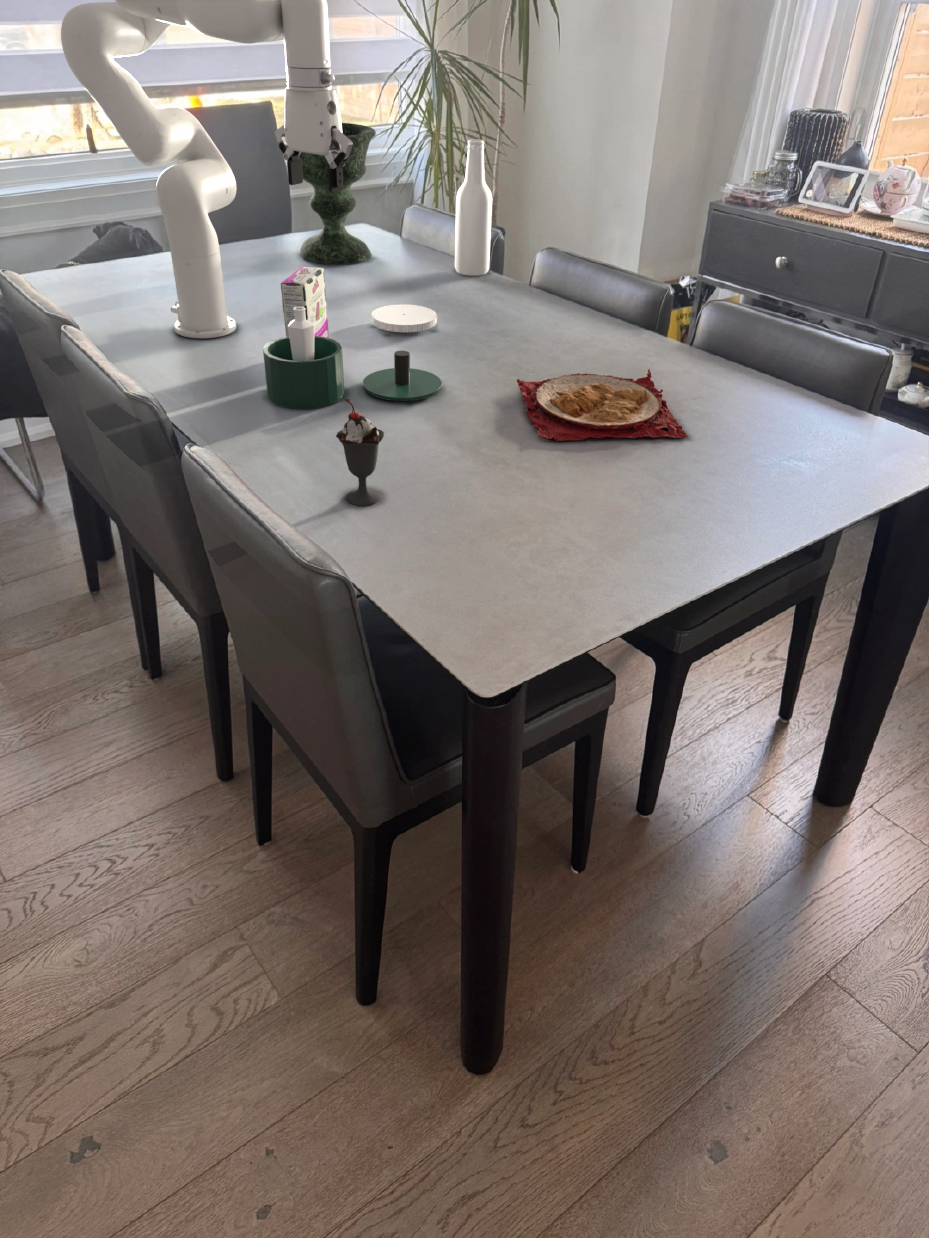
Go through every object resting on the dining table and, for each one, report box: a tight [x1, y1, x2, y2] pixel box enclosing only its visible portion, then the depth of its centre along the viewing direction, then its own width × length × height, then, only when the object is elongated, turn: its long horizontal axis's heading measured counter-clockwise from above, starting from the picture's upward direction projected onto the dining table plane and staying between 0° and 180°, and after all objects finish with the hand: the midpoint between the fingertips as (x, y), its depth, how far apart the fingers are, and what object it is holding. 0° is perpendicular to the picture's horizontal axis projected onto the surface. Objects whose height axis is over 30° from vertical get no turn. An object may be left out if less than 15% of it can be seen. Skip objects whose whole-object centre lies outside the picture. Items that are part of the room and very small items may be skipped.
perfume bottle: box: [288, 307, 314, 361], centre depth 161 cm, size 5×4×15 cm
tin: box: [262, 336, 345, 410], centre depth 164 cm, size 14×14×8 cm
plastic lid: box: [370, 303, 438, 333], centre depth 197 cm, size 14×14×2 cm
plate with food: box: [516, 368, 689, 442], centre depth 162 cm, size 24×26×4 cm
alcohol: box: [454, 138, 493, 277], centre depth 225 cm, size 9×9×30 cm
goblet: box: [298, 122, 377, 265], centre depth 233 cm, size 22×22×30 cm
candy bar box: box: [280, 266, 330, 339], centre depth 175 cm, size 11×5×16 cm, turn 168°
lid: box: [362, 350, 443, 402], centre depth 168 cm, size 15×15×7 cm
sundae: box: [335, 398, 385, 507], centre depth 131 cm, size 7×7×15 cm
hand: (315, 187), depth 167 cm, fingers open, 9 cm apart
